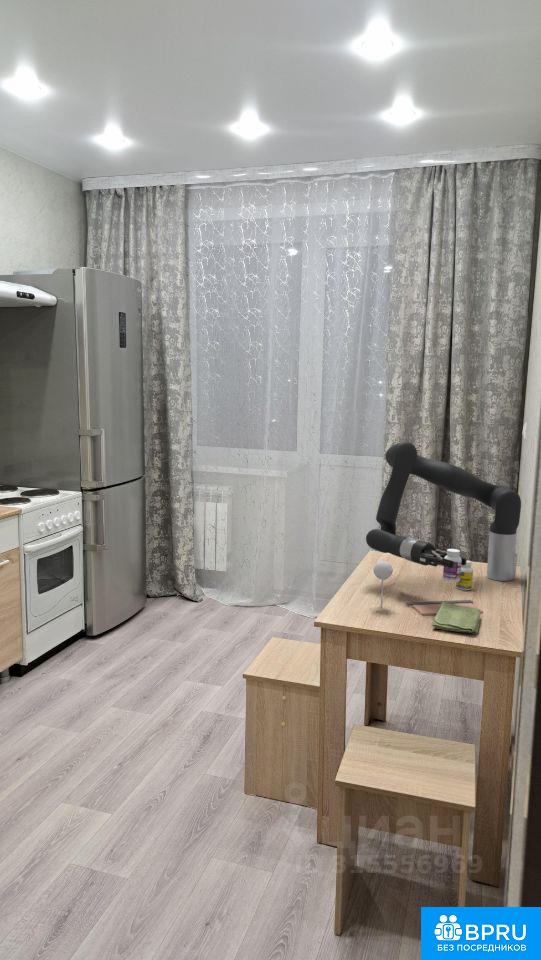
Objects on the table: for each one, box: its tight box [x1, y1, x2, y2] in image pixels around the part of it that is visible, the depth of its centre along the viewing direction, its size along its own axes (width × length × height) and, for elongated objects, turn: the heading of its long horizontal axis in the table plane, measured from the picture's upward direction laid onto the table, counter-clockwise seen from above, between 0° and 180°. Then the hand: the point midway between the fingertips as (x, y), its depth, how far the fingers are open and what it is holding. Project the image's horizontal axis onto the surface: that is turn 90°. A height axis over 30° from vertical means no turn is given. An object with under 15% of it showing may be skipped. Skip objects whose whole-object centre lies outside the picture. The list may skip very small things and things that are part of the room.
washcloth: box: [431, 602, 481, 635], centre depth 204 cm, size 13×18×3 cm
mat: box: [406, 599, 484, 616], centre depth 218 cm, size 22×11×1 cm, turn 99°
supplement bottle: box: [455, 559, 474, 591], centre depth 238 cm, size 5×5×10 cm
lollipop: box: [372, 560, 394, 608], centre depth 217 cm, size 6×6×15 cm
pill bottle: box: [442, 548, 462, 583], centre depth 214 cm, size 5×5×10 cm
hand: (459, 563), depth 212 cm, fingers closed on pill bottle, 5 cm apart
